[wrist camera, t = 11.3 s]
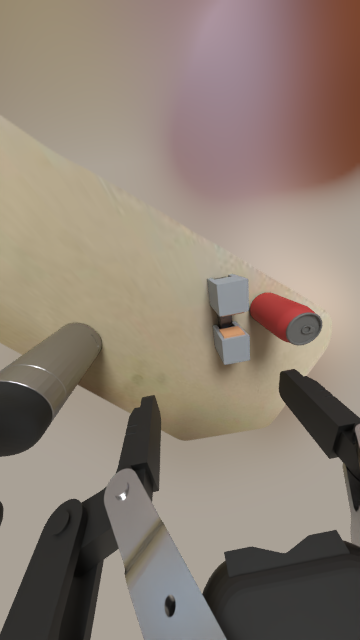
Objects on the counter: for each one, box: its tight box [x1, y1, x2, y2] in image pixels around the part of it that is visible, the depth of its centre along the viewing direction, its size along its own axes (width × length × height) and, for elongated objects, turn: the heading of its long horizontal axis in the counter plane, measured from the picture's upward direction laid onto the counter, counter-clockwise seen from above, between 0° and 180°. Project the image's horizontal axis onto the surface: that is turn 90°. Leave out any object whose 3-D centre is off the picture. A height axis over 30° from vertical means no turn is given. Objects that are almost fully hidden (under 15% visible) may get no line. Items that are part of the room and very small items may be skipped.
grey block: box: [213, 321, 250, 365], centre depth 35 cm, size 5×6×7 cm
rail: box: [214, 277, 232, 329], centre depth 36 cm, size 2×16×2 cm, turn 11°
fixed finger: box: [207, 274, 249, 317], centre depth 31 cm, size 5×6×7 cm
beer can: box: [250, 293, 322, 345], centre depth 31 cm, size 7×7×12 cm
